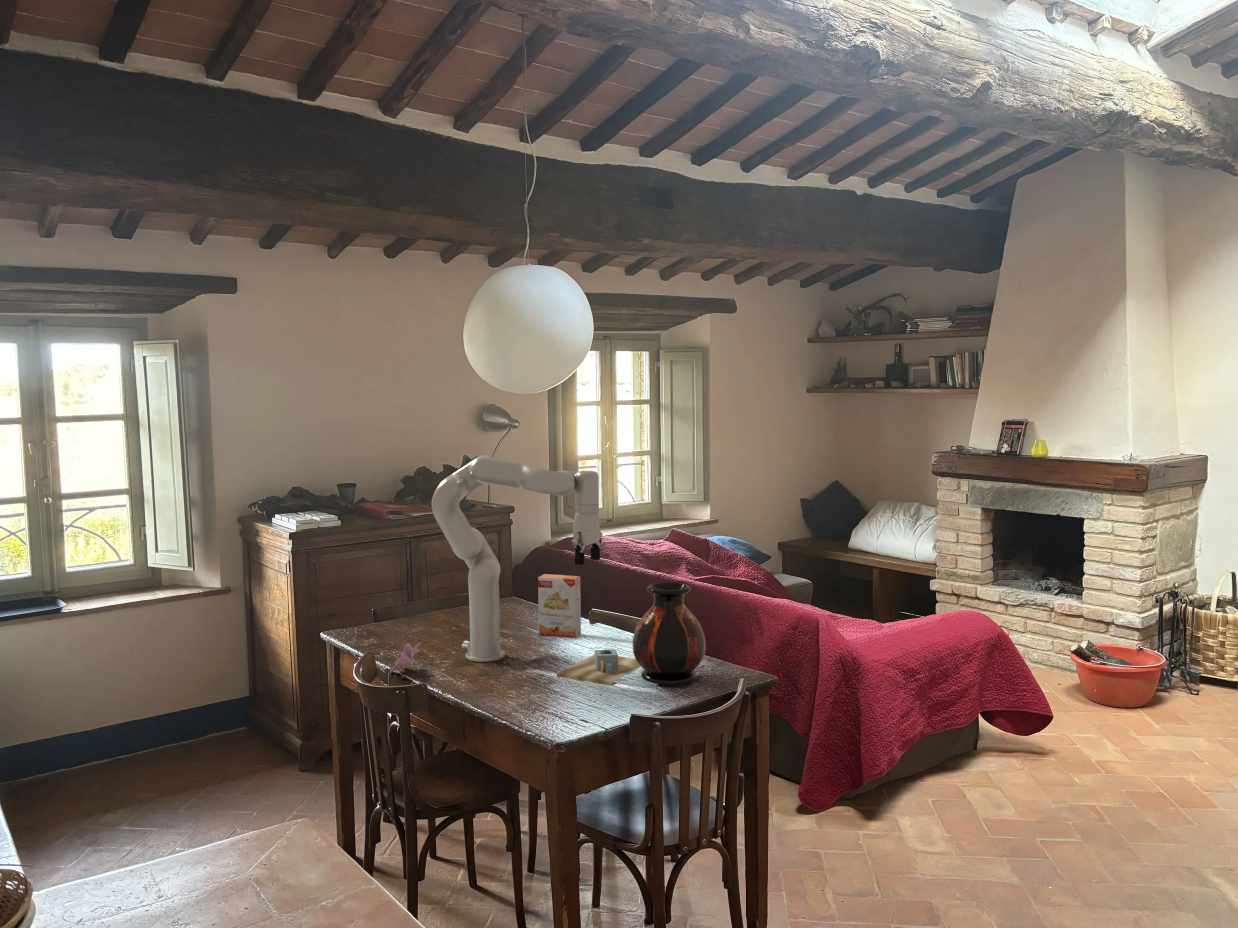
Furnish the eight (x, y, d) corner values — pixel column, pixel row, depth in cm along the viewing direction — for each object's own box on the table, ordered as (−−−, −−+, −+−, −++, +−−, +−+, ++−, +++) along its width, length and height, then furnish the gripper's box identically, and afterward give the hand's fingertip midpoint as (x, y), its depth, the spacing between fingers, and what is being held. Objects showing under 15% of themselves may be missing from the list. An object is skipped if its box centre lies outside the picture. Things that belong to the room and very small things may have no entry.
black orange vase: (634, 668, 286) (633, 578, 284) (704, 669, 284) (704, 579, 282) (630, 690, 264) (630, 593, 262) (706, 691, 263) (706, 594, 261)
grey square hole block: (594, 664, 286) (594, 650, 286) (615, 663, 287) (615, 649, 287) (598, 673, 277) (598, 658, 276) (619, 672, 278) (619, 657, 277)
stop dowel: (600, 672, 278) (600, 660, 278) (602, 671, 279) (602, 659, 279) (603, 672, 277) (603, 661, 277) (605, 671, 278) (605, 660, 278)
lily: (426, 668, 291) (411, 641, 292) (439, 661, 282) (424, 634, 282) (393, 687, 284) (378, 659, 284) (406, 681, 275) (390, 653, 275)
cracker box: (538, 635, 326) (537, 576, 325) (544, 630, 332) (544, 573, 331) (575, 638, 322) (574, 578, 321) (581, 633, 328) (580, 575, 326)
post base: (556, 676, 278) (556, 656, 277) (597, 656, 299) (597, 637, 298) (612, 685, 269) (611, 664, 268) (650, 664, 290) (649, 645, 289)
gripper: (590, 505, 308) (591, 557, 309) (562, 511, 292) (563, 565, 294) (610, 507, 304) (611, 558, 305) (583, 513, 289) (583, 567, 290)
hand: (587, 562), depth 299 cm, fingers open, 9 cm apart
